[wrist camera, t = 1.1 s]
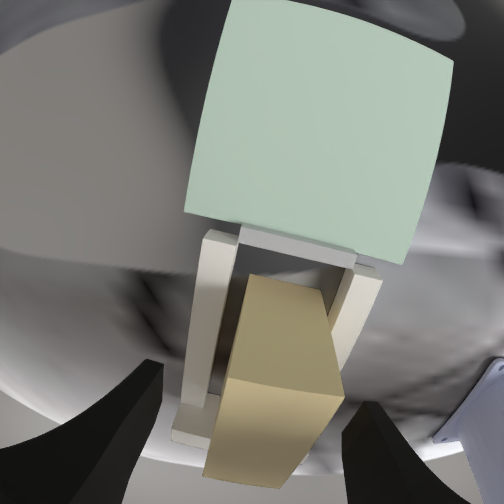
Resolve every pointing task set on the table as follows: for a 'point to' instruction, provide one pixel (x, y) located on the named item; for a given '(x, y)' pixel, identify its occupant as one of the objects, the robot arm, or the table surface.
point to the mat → (319, 127)
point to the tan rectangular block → (274, 385)
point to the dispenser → (213, 304)
